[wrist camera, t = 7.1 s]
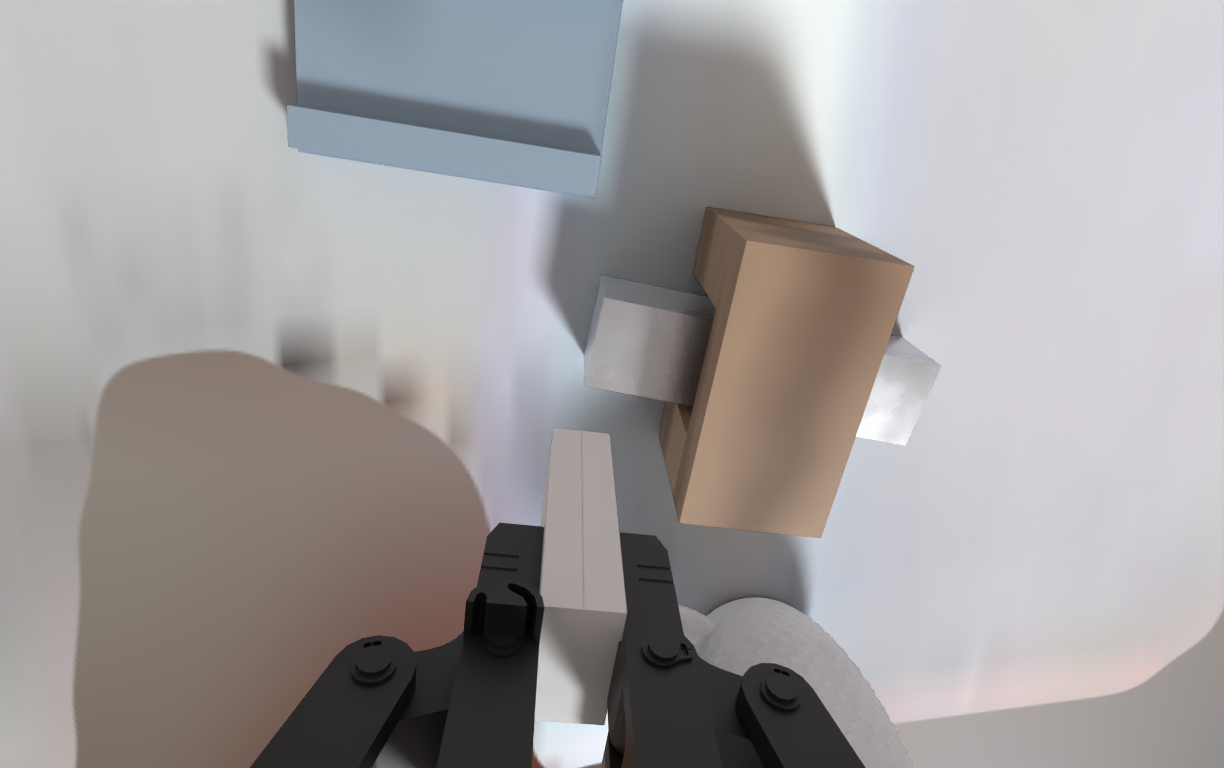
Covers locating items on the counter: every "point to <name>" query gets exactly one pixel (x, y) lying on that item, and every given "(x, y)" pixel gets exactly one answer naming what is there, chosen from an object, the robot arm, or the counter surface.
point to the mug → (799, 667)
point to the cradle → (458, 87)
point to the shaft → (676, 345)
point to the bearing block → (779, 371)
